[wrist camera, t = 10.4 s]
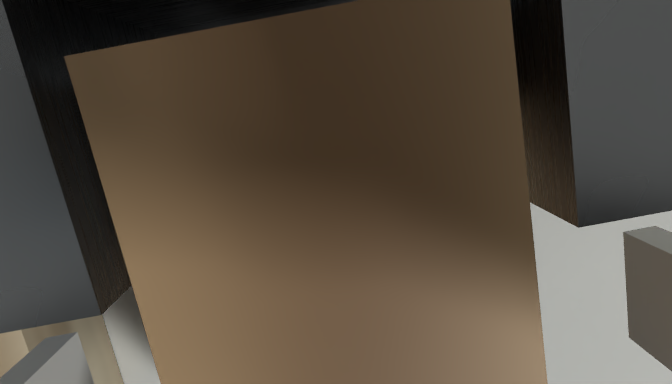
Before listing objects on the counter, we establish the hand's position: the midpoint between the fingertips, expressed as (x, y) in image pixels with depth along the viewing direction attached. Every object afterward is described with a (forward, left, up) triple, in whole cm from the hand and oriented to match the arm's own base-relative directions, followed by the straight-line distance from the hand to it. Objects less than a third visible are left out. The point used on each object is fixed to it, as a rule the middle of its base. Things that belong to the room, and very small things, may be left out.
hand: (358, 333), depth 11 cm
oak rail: (0, 0, 0) cm, 0 cm away
